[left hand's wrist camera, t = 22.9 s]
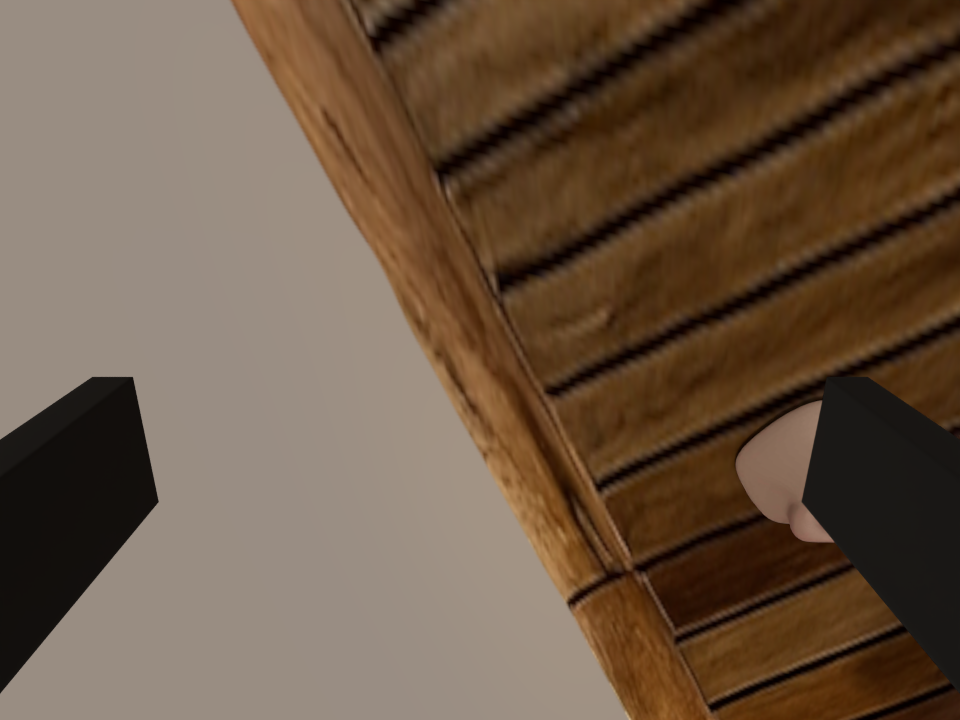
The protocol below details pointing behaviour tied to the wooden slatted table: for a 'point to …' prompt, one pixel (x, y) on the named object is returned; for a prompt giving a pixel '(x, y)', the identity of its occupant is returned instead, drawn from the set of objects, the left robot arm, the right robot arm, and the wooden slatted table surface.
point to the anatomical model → (783, 470)
